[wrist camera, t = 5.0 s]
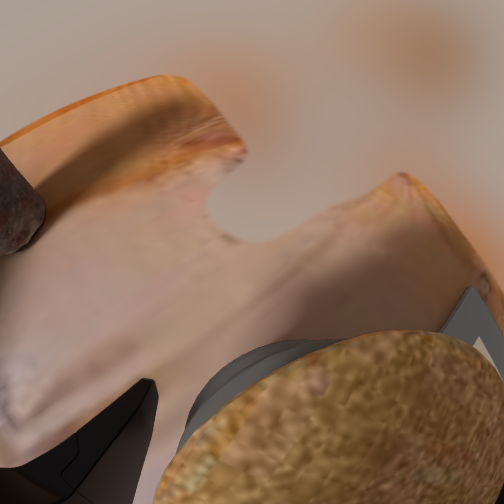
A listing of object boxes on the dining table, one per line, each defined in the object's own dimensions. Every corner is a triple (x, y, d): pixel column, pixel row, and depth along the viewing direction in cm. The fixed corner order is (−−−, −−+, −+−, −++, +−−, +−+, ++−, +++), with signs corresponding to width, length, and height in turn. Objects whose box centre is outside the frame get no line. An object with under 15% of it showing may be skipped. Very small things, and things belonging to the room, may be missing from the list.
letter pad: (524, 395, 13) (529, 395, 12) (433, 524, 9) (438, 527, 8) (467, 287, 18) (473, 284, 18) (348, 429, 14) (352, 431, 13)
